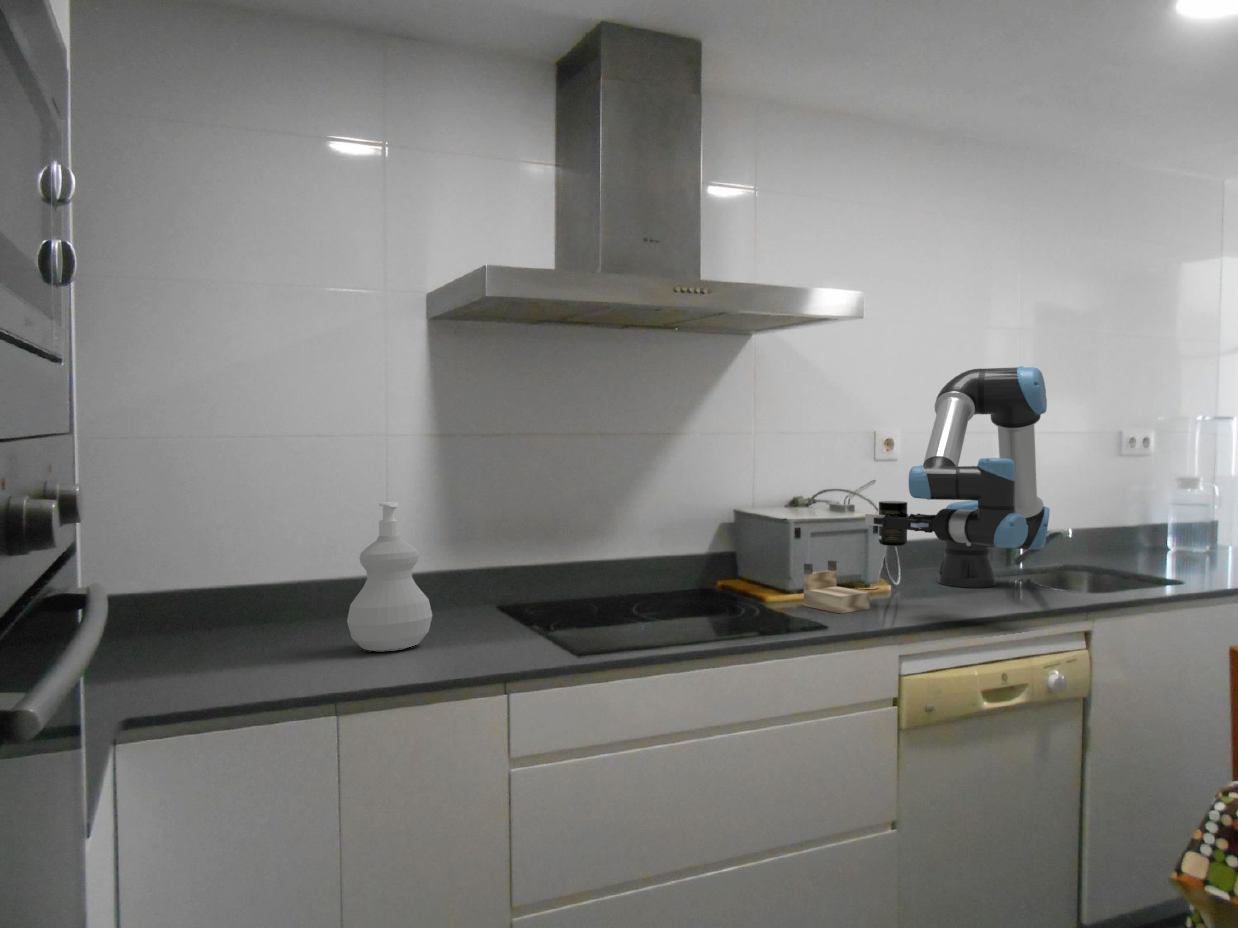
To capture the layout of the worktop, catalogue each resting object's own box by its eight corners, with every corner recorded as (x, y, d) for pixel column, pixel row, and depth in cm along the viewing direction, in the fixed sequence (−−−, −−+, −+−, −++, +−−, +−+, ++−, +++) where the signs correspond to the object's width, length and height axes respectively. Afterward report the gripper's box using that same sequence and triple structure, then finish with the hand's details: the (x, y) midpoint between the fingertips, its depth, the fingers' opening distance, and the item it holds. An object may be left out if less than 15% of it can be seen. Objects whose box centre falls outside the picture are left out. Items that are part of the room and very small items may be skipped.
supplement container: (911, 545, 218) (911, 502, 218) (884, 546, 218) (884, 503, 218) (900, 542, 225) (901, 500, 225) (874, 543, 225) (874, 501, 224)
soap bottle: (355, 660, 173) (353, 506, 171) (341, 647, 183) (338, 502, 181) (440, 648, 181) (438, 502, 180) (422, 637, 191) (420, 498, 190)
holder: (831, 601, 229) (831, 560, 229) (869, 608, 219) (869, 565, 219) (803, 605, 223) (803, 563, 223) (840, 613, 214) (841, 569, 213)
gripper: (930, 545, 201) (849, 536, 220) (982, 539, 212) (901, 530, 231) (930, 511, 201) (849, 505, 220) (982, 507, 212) (901, 501, 231)
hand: (876, 518), depth 225 cm, fingers closed on supplement container, 7 cm apart
